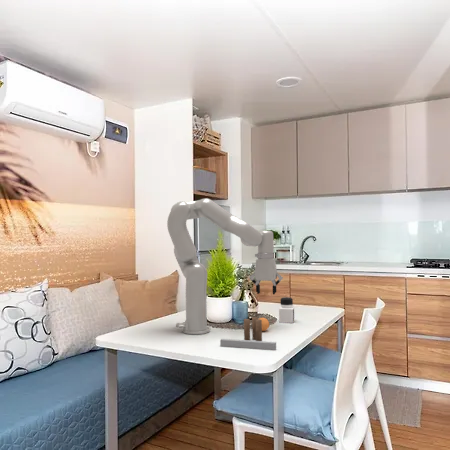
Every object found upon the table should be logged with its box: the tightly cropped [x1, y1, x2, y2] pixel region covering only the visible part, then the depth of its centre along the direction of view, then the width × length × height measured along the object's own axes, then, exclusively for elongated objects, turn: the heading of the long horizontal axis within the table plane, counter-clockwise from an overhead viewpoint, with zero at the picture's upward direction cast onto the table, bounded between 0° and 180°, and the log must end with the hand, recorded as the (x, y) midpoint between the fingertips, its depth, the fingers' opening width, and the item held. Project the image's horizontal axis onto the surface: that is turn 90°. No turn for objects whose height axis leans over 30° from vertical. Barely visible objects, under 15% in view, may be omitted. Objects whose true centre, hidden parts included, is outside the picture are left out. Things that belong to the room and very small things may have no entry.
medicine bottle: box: [278, 296, 295, 324], centre depth 210 cm, size 7×7×12 cm
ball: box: [258, 317, 270, 332], centre depth 190 cm, size 6×6×6 cm
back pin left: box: [243, 318, 251, 341], centre depth 172 cm, size 2×2×9 cm
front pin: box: [251, 316, 259, 341], centre depth 175 cm, size 2×2×9 cm
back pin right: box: [255, 318, 263, 341], centre depth 171 cm, size 2×2×9 cm
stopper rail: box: [219, 338, 277, 351], centre depth 163 cm, size 22×2×2 cm, turn 73°
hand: (266, 293), depth 199 cm, fingers open, 6 cm apart
